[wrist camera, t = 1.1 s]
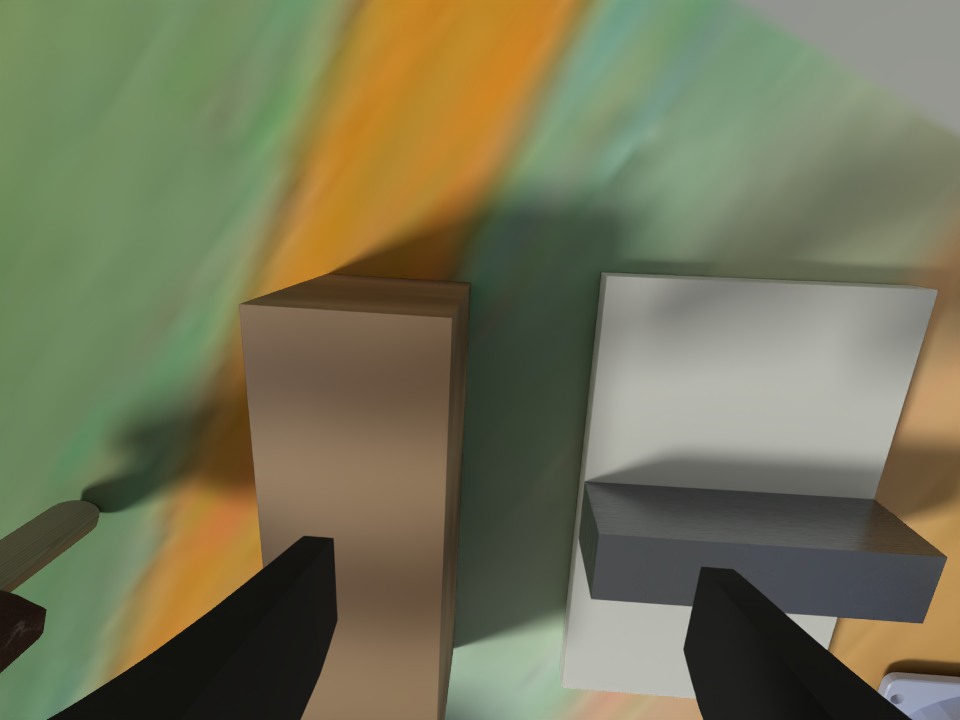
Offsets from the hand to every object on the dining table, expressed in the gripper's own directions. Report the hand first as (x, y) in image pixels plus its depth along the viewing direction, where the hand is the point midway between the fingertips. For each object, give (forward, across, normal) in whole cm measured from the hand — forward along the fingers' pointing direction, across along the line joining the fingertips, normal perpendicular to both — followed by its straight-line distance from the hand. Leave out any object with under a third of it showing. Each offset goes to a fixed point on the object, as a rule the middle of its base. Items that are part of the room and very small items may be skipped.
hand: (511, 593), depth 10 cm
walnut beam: (+9, +4, +3) cm, 11 cm away
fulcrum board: (+9, -8, +3) cm, 12 cm away
